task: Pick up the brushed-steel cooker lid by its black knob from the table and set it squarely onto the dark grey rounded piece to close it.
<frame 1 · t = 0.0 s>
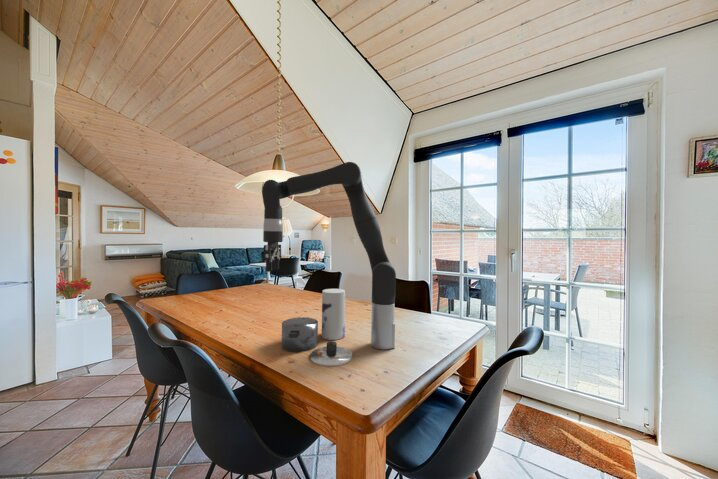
hand: (272, 270, 113), 29 cm above the table, tool pointing down, fingers open, 8 cm apart
container: (333, 336, 122), on the table
lid: (331, 357, 101), on the table
dark grey rounded piece: (299, 344, 111), on the table
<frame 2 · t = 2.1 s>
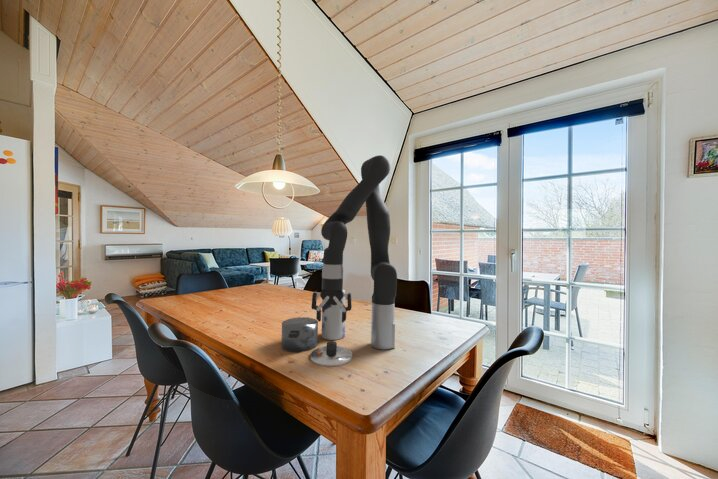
hand: (331, 321, 101), 13 cm above the table, tool pointing down, fingers open, 8 cm apart
nothing on the table moved.
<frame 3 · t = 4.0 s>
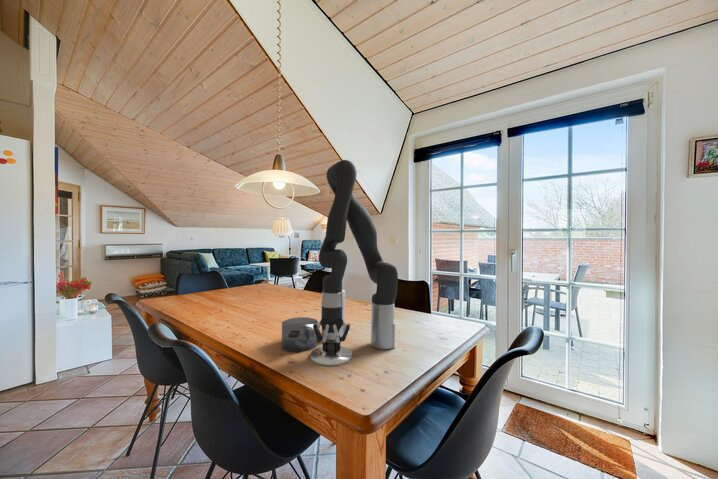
hand: (331, 351, 101), 2 cm above the table, tool pointing down, fingers closed on lid, 3 cm apart
lid: (331, 356, 101), on the table, touching gripper
everything else where it was.
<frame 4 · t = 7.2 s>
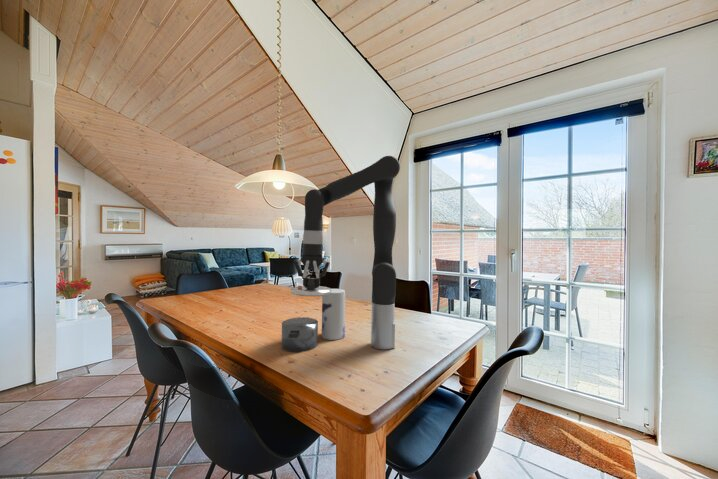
hand: (311, 287, 107), 24 cm above the table, tool pointing down, fingers closed on lid, 3 cm apart
lid: (311, 292, 107), point 22 cm above the table, touching gripper
everything else where it was.
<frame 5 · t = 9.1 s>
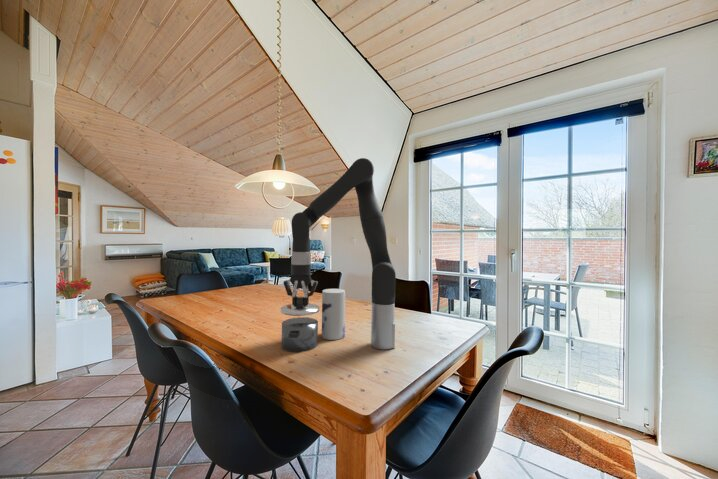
hand: (300, 306, 111), 15 cm above the table, tool pointing down, fingers closed on lid, 3 cm apart
lid: (300, 310, 111), point 14 cm above the table, touching gripper
everything else where it was.
when the fingers open (12 cm above the table, at t = 10.5 s): lid drops 1 cm, resting on dark grey rounded piece.
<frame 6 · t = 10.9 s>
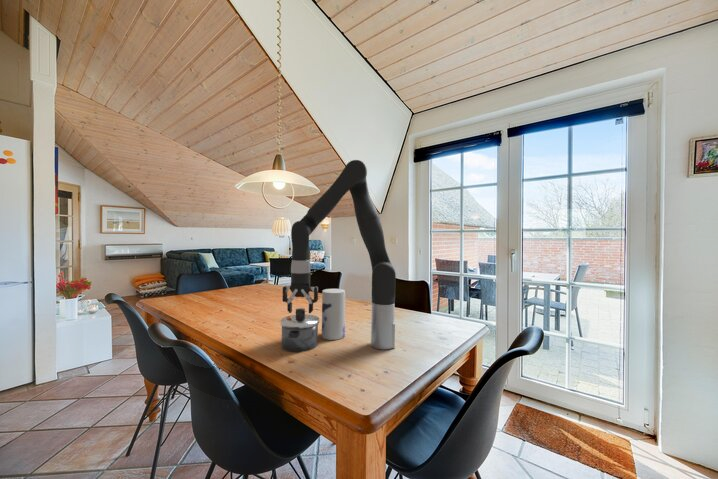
hand: (300, 312, 111), 13 cm above the table, tool pointing down, fingers open, 7 cm apart
lid: (300, 322, 111), point 9 cm above the table, touching dark grey rounded piece
everything else where it was.
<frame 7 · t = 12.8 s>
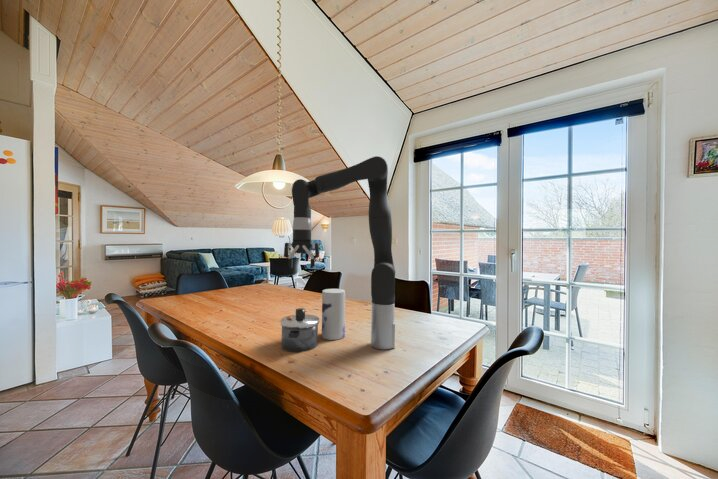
hand: (301, 267, 116), 30 cm above the table, tool pointing down, fingers open, 8 cm apart
nothing on the table moved.
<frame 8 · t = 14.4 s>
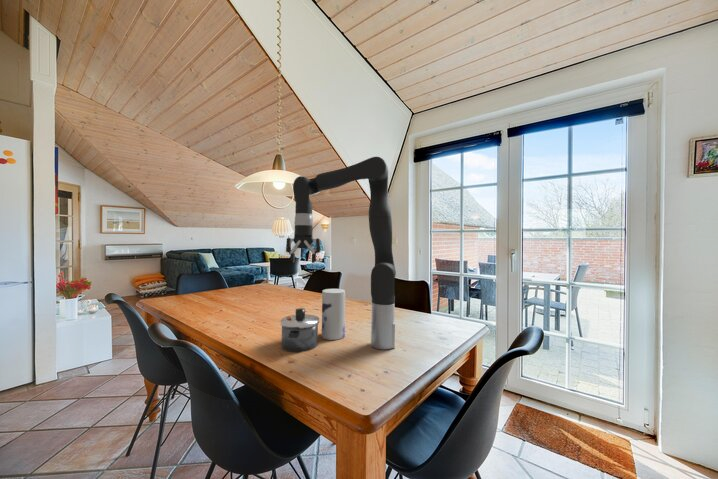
hand: (303, 262, 119), 32 cm above the table, tool pointing down, fingers open, 8 cm apart
nothing on the table moved.
at the end: lid 0.1 cm off-centre on the dark grey rounded piece, point 9.0 cm above the dark grey rounded piece's base; lid tilted 0°; the gripper is holding nothing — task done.
